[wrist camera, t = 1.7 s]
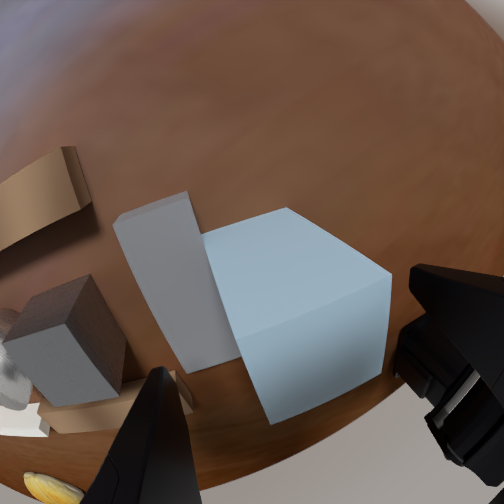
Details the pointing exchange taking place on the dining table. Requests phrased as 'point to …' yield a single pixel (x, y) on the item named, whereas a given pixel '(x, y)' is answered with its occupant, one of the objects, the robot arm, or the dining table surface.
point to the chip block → (69, 344)
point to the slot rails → (36, 217)
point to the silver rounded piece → (12, 370)
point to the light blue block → (261, 300)
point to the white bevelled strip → (23, 422)
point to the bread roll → (52, 489)
